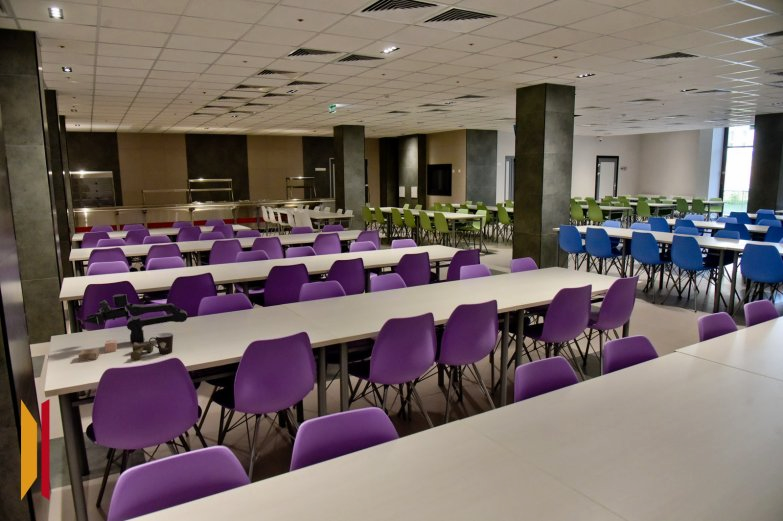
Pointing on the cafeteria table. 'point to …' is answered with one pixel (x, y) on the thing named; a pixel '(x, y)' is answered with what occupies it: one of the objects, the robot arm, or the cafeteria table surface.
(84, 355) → the walnut box
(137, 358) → the kendama
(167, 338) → the coffee mug
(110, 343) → the terracotta cube
